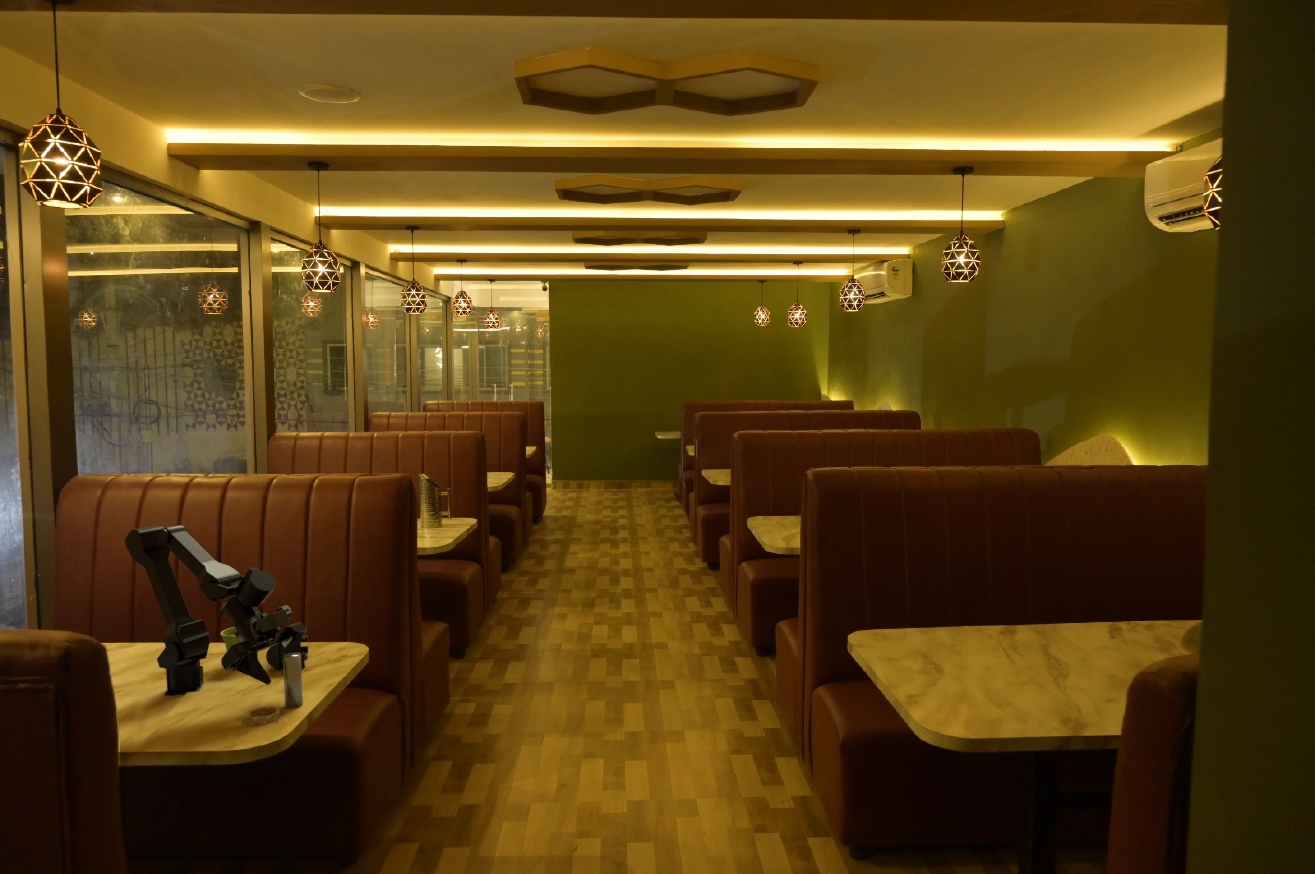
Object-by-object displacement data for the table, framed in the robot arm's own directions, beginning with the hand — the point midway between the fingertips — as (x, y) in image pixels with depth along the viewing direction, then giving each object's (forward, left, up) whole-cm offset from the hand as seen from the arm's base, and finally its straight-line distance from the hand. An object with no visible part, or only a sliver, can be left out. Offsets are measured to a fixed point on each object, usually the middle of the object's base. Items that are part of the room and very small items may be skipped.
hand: (287, 675), depth 177 cm
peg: (+1, -1, -7) cm, 7 cm away
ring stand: (-4, -6, -7) cm, 10 cm away
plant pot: (-17, +34, -7) cm, 38 cm away
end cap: (-6, +31, -8) cm, 32 cm away
